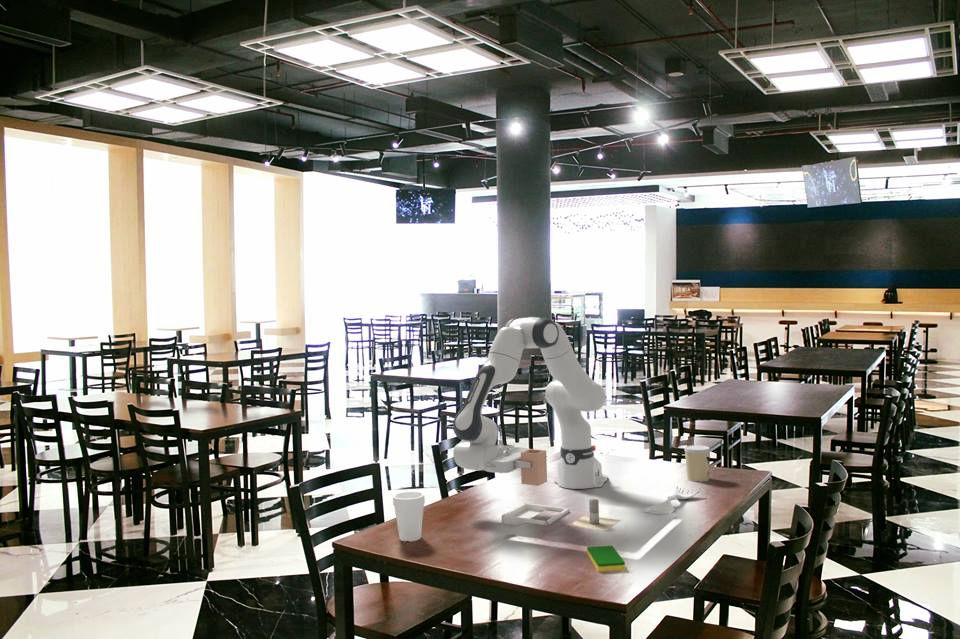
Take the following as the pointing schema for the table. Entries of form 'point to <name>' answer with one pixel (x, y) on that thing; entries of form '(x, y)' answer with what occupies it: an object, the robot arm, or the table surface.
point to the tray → (531, 514)
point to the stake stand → (594, 519)
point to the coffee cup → (697, 462)
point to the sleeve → (534, 467)
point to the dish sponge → (605, 558)
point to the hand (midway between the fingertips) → (536, 462)
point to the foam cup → (409, 514)
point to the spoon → (667, 505)
